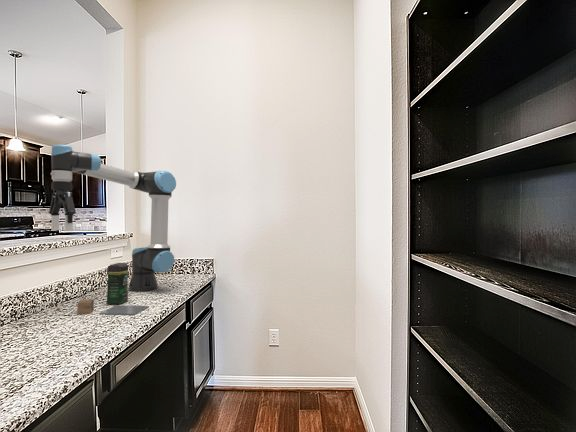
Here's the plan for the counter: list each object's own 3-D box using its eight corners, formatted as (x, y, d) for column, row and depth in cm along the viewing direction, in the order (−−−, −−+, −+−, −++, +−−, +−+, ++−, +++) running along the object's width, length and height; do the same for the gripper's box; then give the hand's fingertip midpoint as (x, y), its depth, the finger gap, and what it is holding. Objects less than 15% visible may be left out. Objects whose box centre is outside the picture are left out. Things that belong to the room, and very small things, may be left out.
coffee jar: (121, 305, 166) (121, 264, 166) (104, 305, 166) (104, 264, 166) (130, 300, 176) (130, 261, 176) (114, 300, 176) (114, 261, 176)
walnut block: (80, 311, 155) (80, 299, 155) (93, 310, 157) (93, 299, 157) (77, 314, 150) (77, 302, 150) (90, 313, 152) (90, 301, 152)
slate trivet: (116, 306, 163) (116, 305, 163) (148, 307, 162) (148, 306, 162) (99, 314, 150) (99, 313, 150) (134, 315, 149) (134, 313, 149)
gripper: (40, 182, 161) (40, 230, 161) (65, 178, 146) (65, 231, 146) (59, 183, 167) (59, 229, 167) (84, 180, 152) (84, 231, 152)
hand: (61, 230), depth 157 cm, fingers open, 13 cm apart
